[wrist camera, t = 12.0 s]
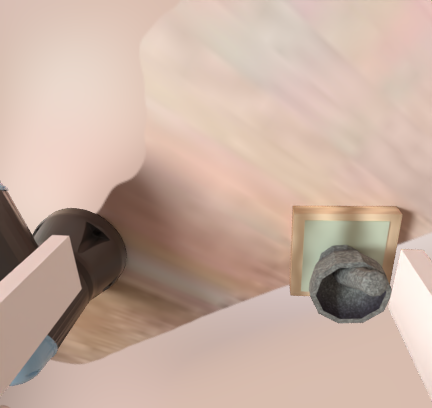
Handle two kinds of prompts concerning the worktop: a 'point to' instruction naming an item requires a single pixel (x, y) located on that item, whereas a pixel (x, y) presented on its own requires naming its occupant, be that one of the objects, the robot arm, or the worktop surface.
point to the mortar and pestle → (348, 285)
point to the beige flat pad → (341, 237)
